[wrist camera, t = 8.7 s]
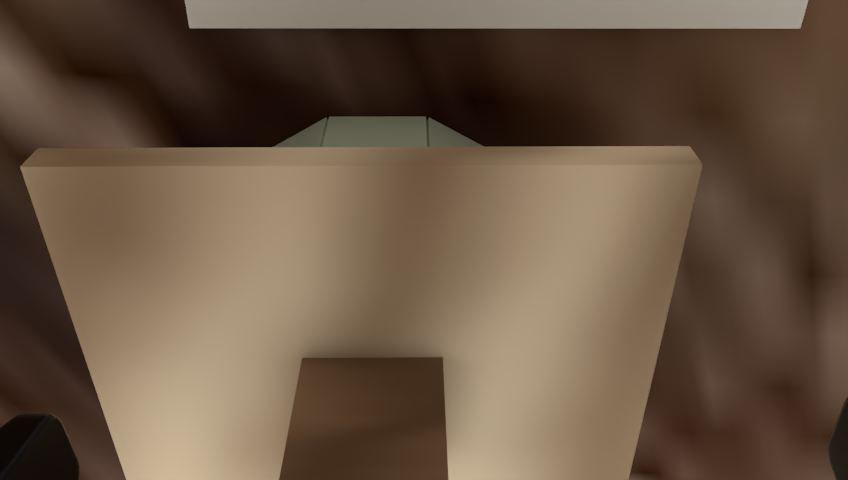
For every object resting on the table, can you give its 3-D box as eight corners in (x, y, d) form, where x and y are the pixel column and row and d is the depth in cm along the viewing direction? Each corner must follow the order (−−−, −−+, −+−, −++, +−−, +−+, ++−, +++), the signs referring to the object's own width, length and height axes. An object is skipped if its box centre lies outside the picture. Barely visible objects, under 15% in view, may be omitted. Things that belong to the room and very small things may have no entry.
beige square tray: (689, 145, 15) (792, 292, 11) (602, 540, 22) (643, 716, 18) (38, 147, 15) (-105, 296, 11) (164, 544, 22) (108, 722, 18)
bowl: (563, 116, 20) (603, 212, 16) (532, 385, 25) (555, 510, 21) (190, 116, 20) (129, 213, 15) (240, 387, 25) (205, 512, 21)
